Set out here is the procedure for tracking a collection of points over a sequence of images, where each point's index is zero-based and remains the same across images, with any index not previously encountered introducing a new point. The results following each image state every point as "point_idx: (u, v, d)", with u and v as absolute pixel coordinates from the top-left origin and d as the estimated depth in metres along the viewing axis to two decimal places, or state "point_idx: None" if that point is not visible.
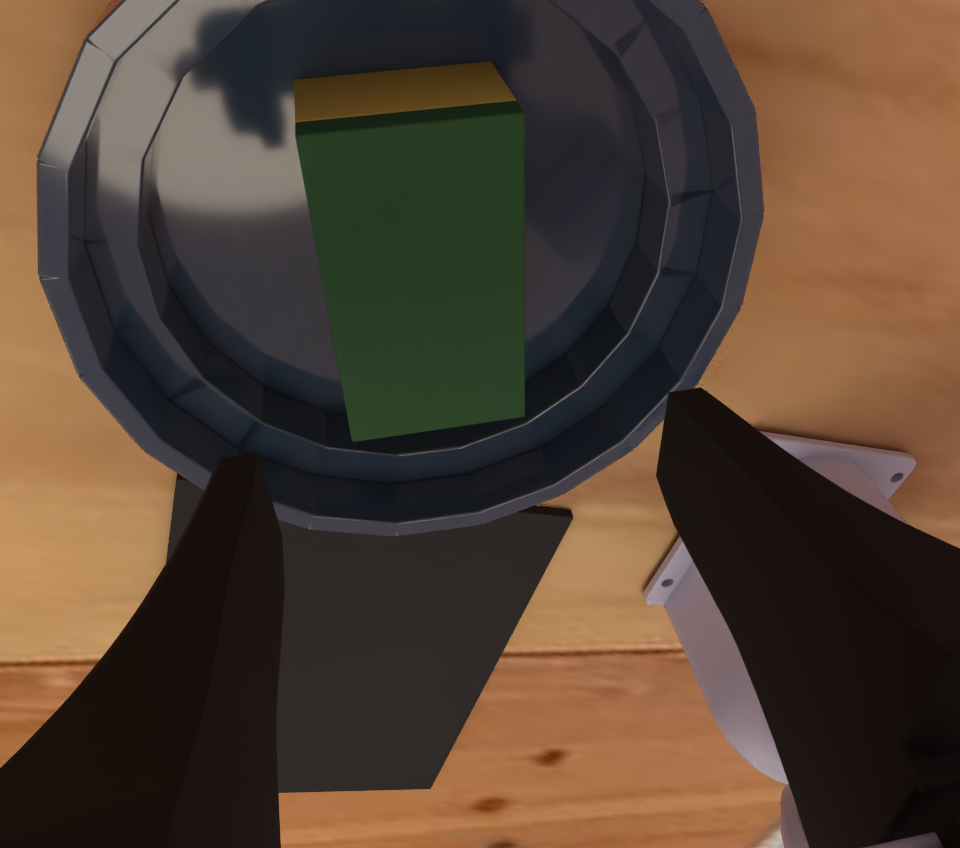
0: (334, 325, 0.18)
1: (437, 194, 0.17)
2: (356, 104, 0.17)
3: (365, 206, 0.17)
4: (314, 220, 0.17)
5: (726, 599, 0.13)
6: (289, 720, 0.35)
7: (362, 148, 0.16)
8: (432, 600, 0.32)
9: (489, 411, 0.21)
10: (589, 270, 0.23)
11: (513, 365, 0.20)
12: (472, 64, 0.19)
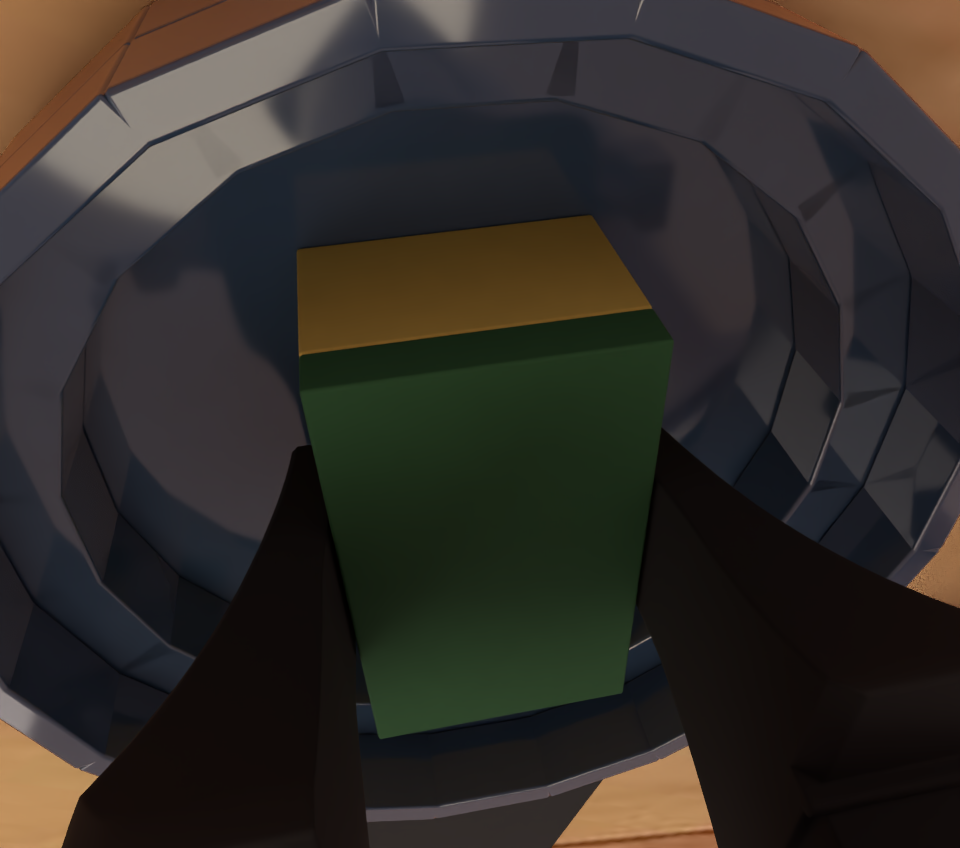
0: (357, 618, 0.12)
1: (525, 453, 0.11)
2: (397, 311, 0.11)
3: (411, 476, 0.11)
4: (329, 498, 0.11)
5: (650, 613, 0.13)
6: None
7: (410, 402, 0.10)
8: None
9: (574, 692, 0.15)
10: (703, 463, 0.17)
11: (614, 642, 0.14)
12: (564, 221, 0.12)
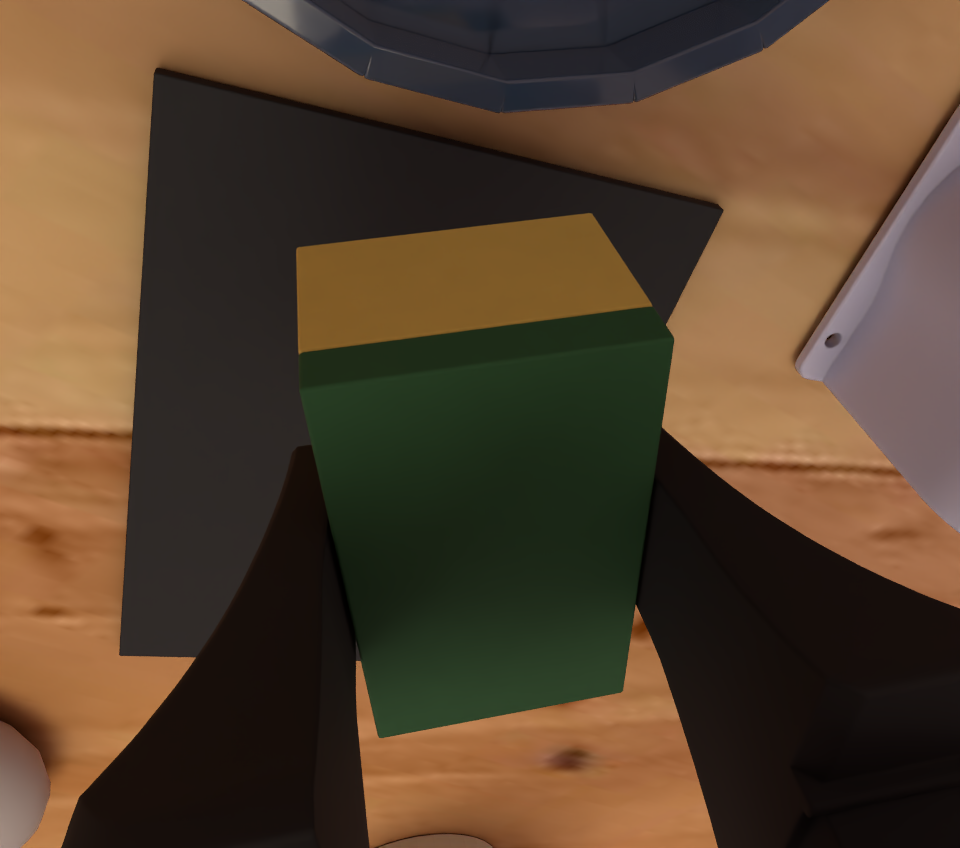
0: (357, 617, 0.12)
1: (524, 452, 0.11)
2: (396, 308, 0.11)
3: (410, 474, 0.10)
4: (329, 496, 0.10)
5: (650, 613, 0.13)
6: None
7: (409, 400, 0.10)
8: None
9: (574, 691, 0.15)
10: None
11: (614, 640, 0.14)
12: (564, 220, 0.12)
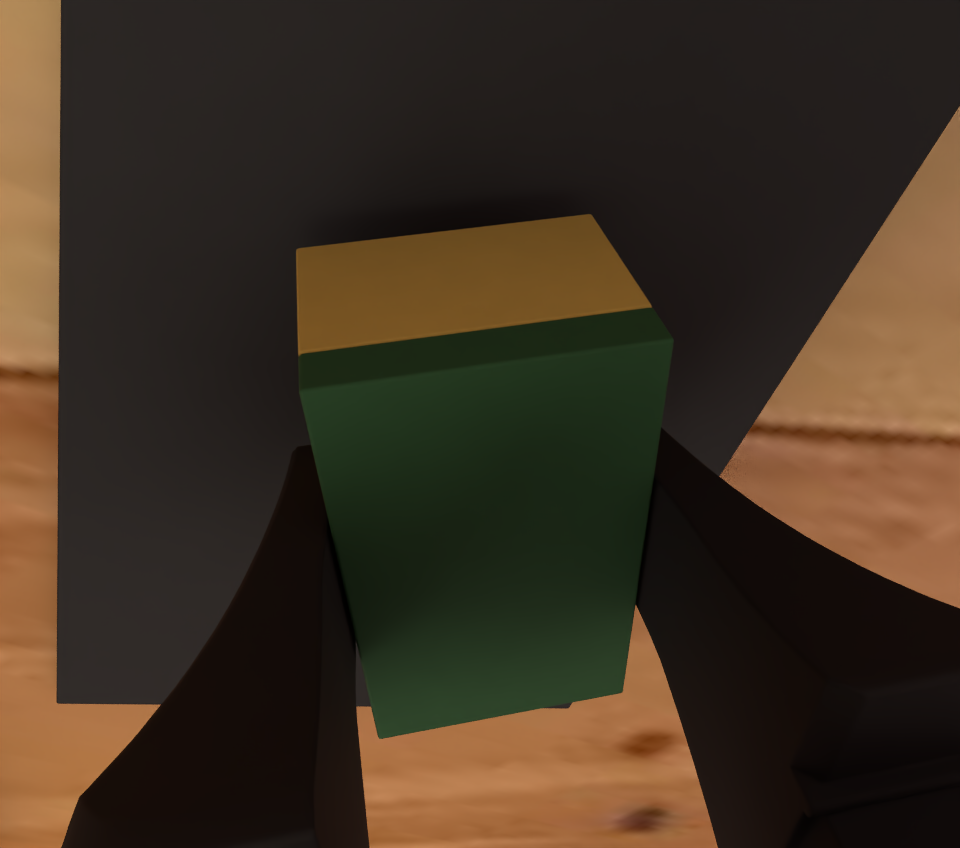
0: (357, 618, 0.12)
1: (524, 452, 0.11)
2: (396, 310, 0.11)
3: (410, 475, 0.11)
4: (329, 497, 0.11)
5: (650, 613, 0.13)
6: None
7: (409, 401, 0.10)
8: (666, 246, 0.15)
9: (574, 692, 0.15)
10: None
11: (614, 641, 0.14)
12: (564, 221, 0.12)
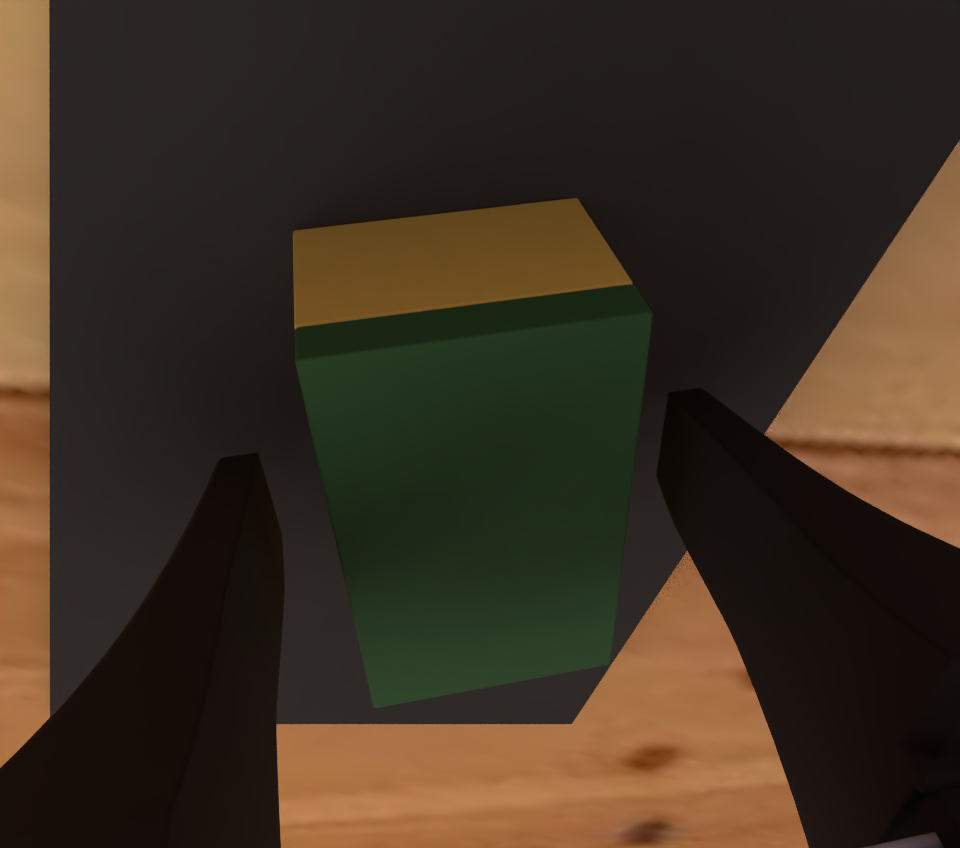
0: (352, 586, 0.13)
1: (511, 423, 0.11)
2: (388, 287, 0.11)
3: (402, 445, 0.11)
4: (324, 466, 0.11)
5: (726, 599, 0.13)
6: None
7: (400, 372, 0.10)
8: (674, 260, 0.14)
9: (563, 662, 0.15)
10: None
11: (600, 612, 0.14)
12: (551, 204, 0.13)
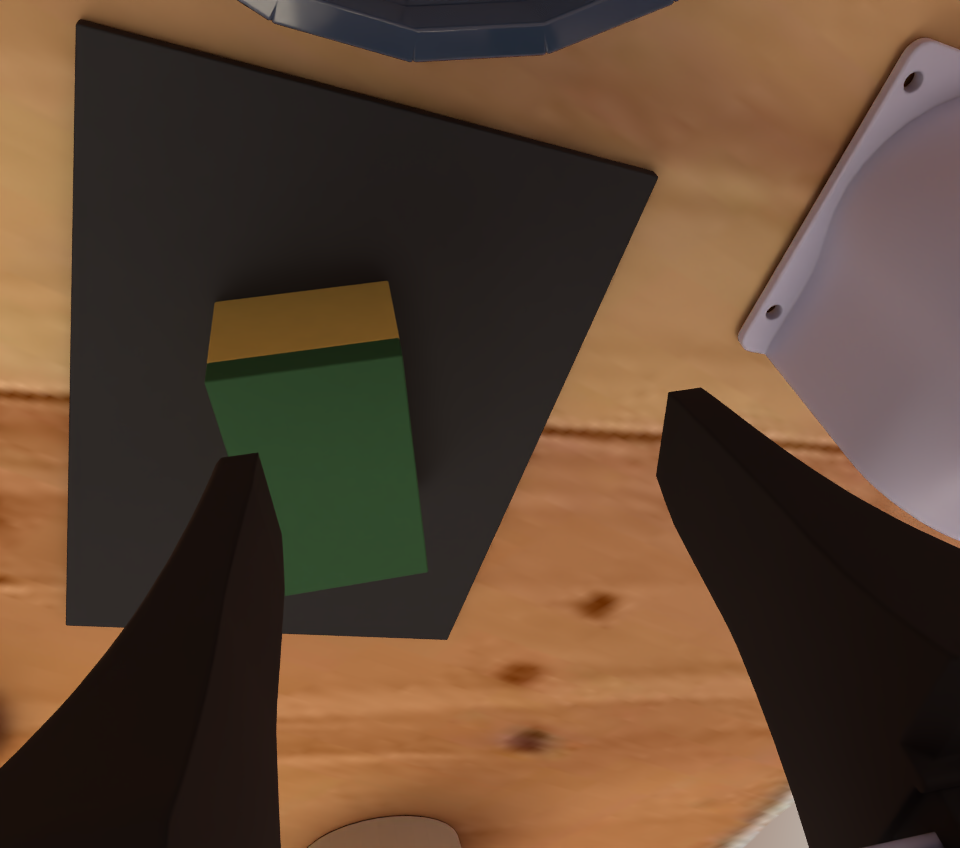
0: None
1: (331, 415, 0.20)
2: (262, 339, 0.20)
3: (269, 428, 0.20)
4: (225, 439, 0.20)
5: (726, 599, 0.13)
6: None
7: (263, 387, 0.19)
8: (457, 315, 0.23)
9: (395, 569, 0.24)
10: None
11: (412, 535, 0.23)
12: (370, 285, 0.21)
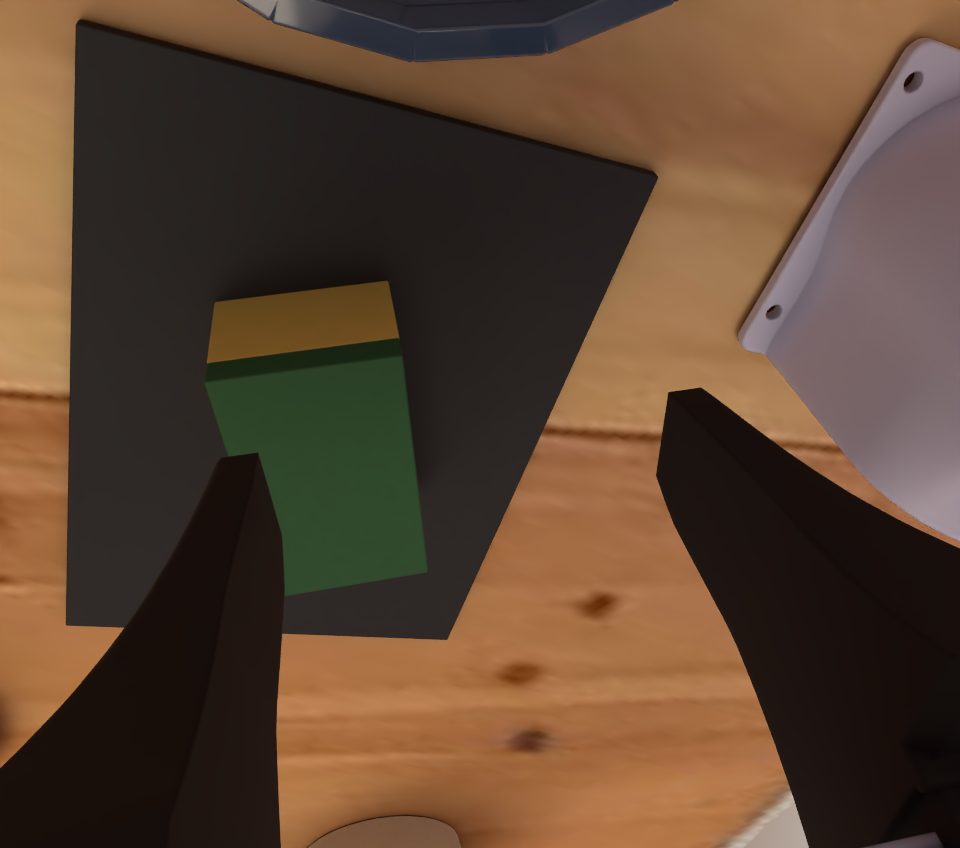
0: None
1: (331, 415, 0.20)
2: (262, 339, 0.20)
3: (269, 428, 0.20)
4: (225, 439, 0.20)
5: (726, 599, 0.13)
6: None
7: (263, 387, 0.19)
8: (457, 315, 0.23)
9: (395, 569, 0.24)
10: None
11: (412, 535, 0.23)
12: (370, 285, 0.21)
